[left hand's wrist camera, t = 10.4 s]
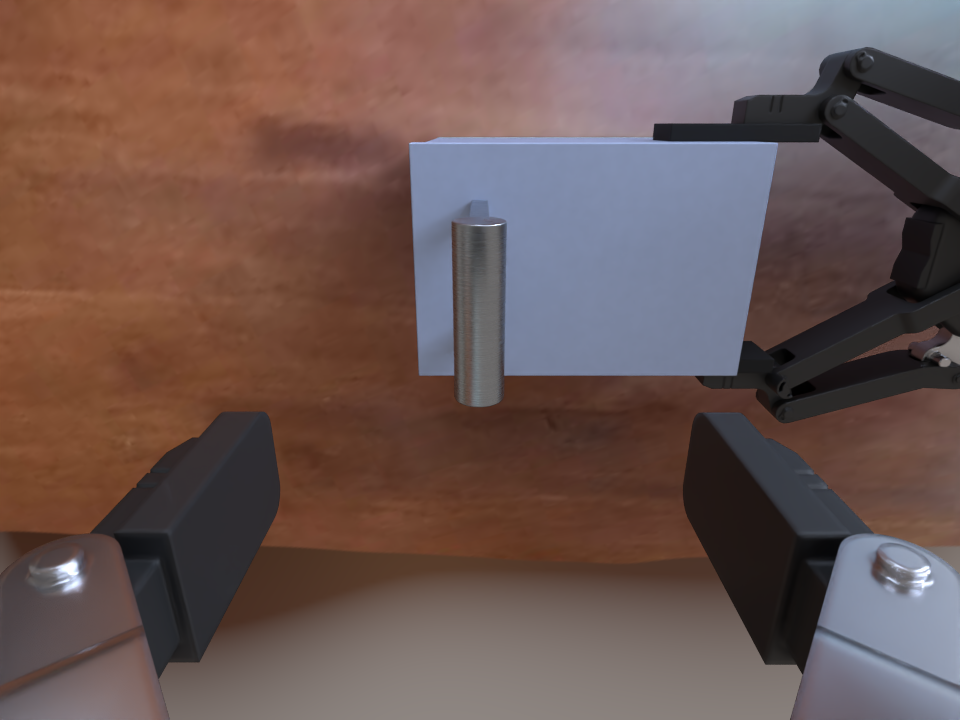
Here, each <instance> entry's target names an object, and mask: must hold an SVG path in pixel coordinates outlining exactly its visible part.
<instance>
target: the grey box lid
mask: <svg viewBox="0 0 960 720" xmlns="http://www.w3.org/2000/svg"><path fill="white" fill-rule="evenodd" d="M777 148H778V143H771V142H412V143H409V158H410V181H411V204H412V228H413V251H414V274H415V298H416V321H417V344H418V368H419V375H420V376H454V393H455V399H456V400H457V401H458V402H459V403H461V404H463V405H467V406H472V407H487V406H492V405H495V404H497V403H499V402H501V401H502V400H503V398H504V376H737V371H738V366H739V360H740V354H741V349H742V343H743V338H744V332H745V327H746V321H747V315H748V310H749V304H750V299H751V293H752V287H753V282H754V276H755V271H756V265H757V259H758V254H759V248H760V243H761V237H762V232H763V226H764V220H765V215H766V209H767V204H768V198H769V192H770V187H771V181H772V176H773V170H774V164H775V159H776V153H777Z"/></svg>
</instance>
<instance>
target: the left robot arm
mask: <svg viewBox="0 0 960 720" xmlns="http://www.w3.org/2000/svg"><path fill="white" fill-rule="evenodd" d="M279 499H280V482H279V475H278V468H277V462H276V455H275V448H274V442H273V435H272V428H271V423H270V419H269V417H268V415H267V414H266V413H265V412H222V413H221V414H220V415H219V416H218V417H217V418H216V419H215V420H214V421H213V422H212V423H211V425H210V426H209V427H208V428H207V429H206V430H205V431H204V432H203V433H202V435H201V436H200V437H199V438H191V439H189V440H187V441H186V442H184V443H182V444H181V445H179V446H177V447H175V448H174V449H172V450H170V451H168V452H167V453H166V454H165V455H164V456H163V457H162V458H161V459H160V460H159V461H158V462H157V463H156V464H155V465H154V466H153V468H152V469H151V472H150V473H147V474H146V475H145V476H144V477H143V478H142V479H141V480H140V481H139V482H138V483H137V487H136V488H132V490H131V491H130V492H129V493H128V494H127V495H126V496H125V497H124V498H123V499H122V500H121V501H120V502H119V503H118V504H117V505H116V506H115V507H114V508H113V509H112V510H111V512H110V513H109V514H108V515H107V516H106V517H105V518H104V519H103V520H102V521H101V522H100V523H99V524H98V525H97V526H96V527H95V528H94V529H93V530H92V531H91V532H90V534H80V535H74V536H69V537H65V538H62V539H58V540H55V541H53V542H50V543H47V544H45V545H42V546H40V547H38V548H36V549H34V550H32V551H30V552H28V553H27V554H25V555H23V556H22V557H20V558H19V559H17V560H16V561H15V562H13V563H12V564H11V565H9V566H8V567H7V568H6V569H5V570H4V571H3V572H2V573H1V575H0V720H170V718H169V715H168V711H167V708H166V704H165V701H164V697H163V694H162V690H161V687H160V683H159V680H158V679H159V677H160V676H161V674H162V672H163V671H164V669H165V667H166V665H167V664H168V662H200V660H201V658H202V656H203V654H204V652H205V650H206V648H207V646H208V644H209V643H210V641H211V639H212V637H213V635H214V633H215V631H216V629H217V627H218V625H219V624H220V622H221V620H222V618H223V616H224V614H225V612H226V610H227V608H228V606H229V604H230V602H231V601H232V599H233V597H234V595H235V593H236V591H237V589H238V587H239V585H240V583H241V581H242V579H243V577H244V576H245V574H246V572H247V570H248V568H249V566H250V564H251V562H252V560H253V558H254V556H255V555H256V553H257V551H258V549H259V547H260V545H261V543H262V541H263V539H264V537H265V535H266V533H267V532H268V530H269V528H270V526H271V524H272V522H273V520H274V518H275V516H276V513H277V510H278V506H279ZM683 500H684V506H685V511H686V514H687V517H688V519H689V521H690V523H691V525H692V527H693V529H694V530H695V532H696V534H697V536H698V538H699V540H700V542H701V544H702V546H703V547H704V549H705V551H706V553H707V555H708V557H709V559H710V561H711V563H712V564H713V566H714V568H715V570H716V572H717V574H718V576H719V578H720V580H721V581H722V583H723V585H724V587H725V589H726V591H727V593H728V595H729V597H730V599H731V600H732V602H733V604H734V606H735V608H736V610H737V612H738V614H739V616H740V617H741V619H742V621H743V623H744V625H745V627H746V629H747V631H748V633H749V634H750V636H751V638H752V640H753V642H754V644H755V646H756V648H757V650H758V652H759V653H760V655H761V657H762V659H763V661H764V663H765V664H766V665H771V664H772V665H774V664H775V665H781V664H782V665H797V666H798V668H799V669H800V671H801V673H802V674H803V676H802V680H801V683H800V687H799V690H798V694H797V697H796V701H795V704H794V708H793V711H792V715H791V718H790V720H960V575H959V573H958V572H957V571H956V570H955V569H954V568H953V567H952V566H951V565H949V564H948V563H947V562H945V561H944V560H943V559H941V558H940V557H938V556H937V555H935V554H933V553H932V552H930V551H928V550H926V549H924V548H922V547H920V546H918V545H915V544H913V543H910V542H908V541H905V540H902V539H898V538H895V537H891V536H886V535H880V534H874V533H873V532H872V531H871V530H870V529H869V528H868V527H867V526H866V525H865V524H864V523H863V522H862V521H861V519H860V518H859V517H858V516H857V515H856V514H855V513H854V512H853V511H852V510H851V509H850V508H849V507H848V506H847V505H846V504H845V503H844V502H843V501H842V500H841V499H840V498H839V497H838V496H837V495H836V494H835V492H834V491H833V490H832V489H828V485H827V484H826V483H825V482H824V481H823V480H822V479H821V478H820V477H819V476H818V475H817V474H814V471H813V470H812V469H811V468H810V467H809V465H808V464H807V463H806V462H805V461H804V460H803V459H802V458H801V457H800V456H799V455H798V454H797V453H795V452H793V451H792V450H790V449H788V448H787V447H785V446H783V445H781V444H780V443H778V442H776V441H774V440H773V439H765V438H764V437H763V436H762V435H761V434H760V432H759V431H758V430H757V429H756V428H755V427H754V426H753V425H752V424H751V423H750V421H749V420H748V419H747V418H746V417H745V416H744V415H743V414H741V413H698V414H697V415H696V416H695V418H694V421H693V425H692V431H691V437H690V444H689V450H688V457H687V463H686V470H685V476H684V483H683Z"/></svg>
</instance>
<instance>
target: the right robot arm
mask: <svg viewBox="0 0 960 720" xmlns="http://www.w3.org/2000/svg"><path fill="white" fill-rule="evenodd" d="M819 74H820V77H819V79H818V81H817V83H816V84H815V86H814V87H813V89H812V90H811V91H810V92H808V93H807V94H805V95H755V96H746V97H744V98H741V99H739V100H736V101H734V108H733V115H732V122H731V124H654V133H653V140H658V141H669V142H819V138H820V137H821V138H822V139H823V140H825V141H826V142H827V143H829V144H830V145H831V146H833V147H834V148H835V149H837V150H838V151H840V152H841V153H842V154H844V155H845V156H846V157H848V158H849V159H850V160H852V161H853V162H854V163H856V164H857V165H859V166H860V167H861V168H863V169H864V170H865V171H867V172H868V173H869V174H871V175H872V176H874V177H875V178H876V179H878V180H879V181H880V182H882V183H883V184H884V185H886V186H887V187H888V188H890V189H891V190H893V191H894V195H895V196H896V197H897V198H898V199H900V200H901V201H902V202H904V203H905V204H906V205H908V206H909V207H911V208H912V209H913V210H915V211H916V212H915V213H914V215H913V217H911V218H906V221H905V224H904V228H903V232H902V250H901V252H900V254H899V256H898V257H897V259H896V261H895V263H894V266H893V269H892V273H891V277H890V279H893V280H894V281H892V282H890V283H888V284H886V285H884V286H882V287H880V288H878V289H877V290H875V291H873V292H871V293H869V295H868V297H867V300H865V301H864V302H862V303H860V304H858V305H856V306H854V307H852V308H850V309H848V310H846V311H844V312H842V313H840V314H838V315H836V316H834V317H832V318H830V319H828V320H826V321H824V322H822V323H820V324H818V325H816V326H814V327H812V328H810V329H808V330H806V331H804V332H802V333H800V334H798V335H796V336H794V337H792V338H790V339H788V340H787V341H785V342H783V343H781V344H779V345H777V346H775V347H773V348H771V349H769V350H767V351H763V350H762V349H761V348H759V347H758V346H757V345H756V344H754V343H753V342H752V341H743V343H742V349H741V354H740V360H739V366H738V371H737V376H695V377H696V378H697V379H698V380H699V381H700V382H701V384H702V385H704V386H706V387H709V388H712V389H722V388H724V389H730V388H731V389H757V392H756V398H757V400H758V401H759V402H760V403H761V404H762V405H763V406H764V407H765V408H766V409H767V410H768V411H769V412H770V413H771V414H772V415H773V416H774V417H775V418H776V419H777V420H778V421H779V422H782V423H790V422H794V421H797V420H801V419H805V418H809V417H813V416H817V415H820V414H824V413H828V412H832V411H836V410H840V409H844V408H847V407H851V406H855V405H859V404H863V403H867V402H871V401H874V400H878V399H882V398H886V397H890V396H894V395H898V394H901V393H905V392H909V391H913V390H917V389H921V388H940V389H960V178H959V177H957V176H954V175H951V174H950V173H948V172H947V171H945V170H944V169H943V168H941V167H940V166H939V165H937V164H936V163H935V162H934V161H932V160H931V159H930V158H928V157H927V156H926V155H924V154H923V153H922V152H920V151H919V150H918V149H916V148H915V147H914V146H913V145H911V144H910V143H909V142H907V141H906V140H905V139H903V138H902V137H901V136H899V135H898V134H897V133H896V132H894V131H893V130H892V129H890V128H889V127H888V126H886V125H885V124H884V123H882V122H881V121H880V120H879V119H877V118H876V117H875V116H873V115H872V114H871V113H869V112H868V111H867V110H865V109H864V108H863V107H861V106H860V105H859V104H858V103H856V102H855V101H854V100H853V99H854V97H855V95H856V94H859V95H862V96H865V97H867V98H870V99H873V100H876V101H878V102H881V103H884V104H886V105H889V106H892V107H895V108H897V109H900V110H903V111H905V112H908V113H911V114H914V115H916V116H919V117H922V118H925V119H927V120H930V121H933V122H935V123H938V124H941V125H944V126H947V127H950V128H953V129H960V81H959V80H956V79H953V78H951V77H948V76H945V75H943V74H940V73H937V72H935V71H932V70H930V69H927V68H924V67H922V66H919V65H916V64H914V63H911V62H908V61H906V60H903V59H900V58H898V57H895V56H893V55H890V54H887V53H885V52H882V51H879V50H877V49H874V48H870V47H865V48H860V49H855V50H850V51H845V52H840V53H835V54H832V55H829V56H827V57H826V58H825V59H824V60H823V62H822V63H821V65H820V69H819ZM934 325H935V326H936V327H938V328H939V329H940V330H939V332H938V334H937V335H936V336H935V337H934V338H932V339H930V340H927V341H922V342H920V343H918V342H912V343H911V344H909V346H908V350H895V351H889V352H884V353H880V354H876V355H872V356H869V357H865V358H861V359H858V360H854V361H850V362H846V361H848V360H850V359H853V358H855V357H857V356H859V355H861V354H863V353H865V352H867V351H869V350H871V349H873V348H875V347H877V346H879V345H881V344H883V343H885V342H887V341H889V340H891V339H894V338H896V337H898V336H900V335H902V334H905V333H918V332H921V331H924V330H926V329H928V328H930V327H932V326H934ZM844 362H846V363H844ZM842 363H843V364H842Z"/></svg>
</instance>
